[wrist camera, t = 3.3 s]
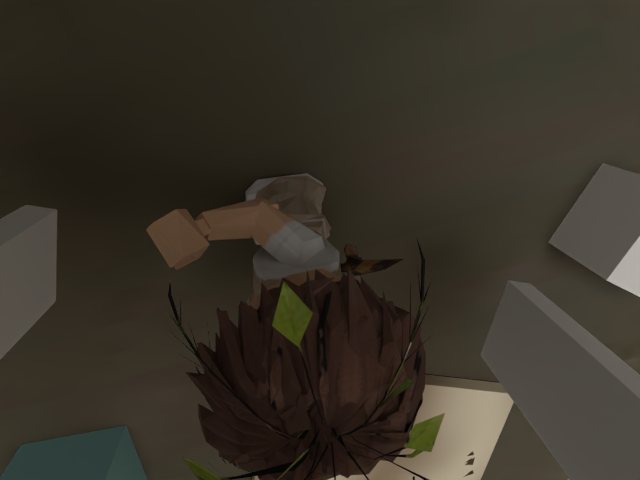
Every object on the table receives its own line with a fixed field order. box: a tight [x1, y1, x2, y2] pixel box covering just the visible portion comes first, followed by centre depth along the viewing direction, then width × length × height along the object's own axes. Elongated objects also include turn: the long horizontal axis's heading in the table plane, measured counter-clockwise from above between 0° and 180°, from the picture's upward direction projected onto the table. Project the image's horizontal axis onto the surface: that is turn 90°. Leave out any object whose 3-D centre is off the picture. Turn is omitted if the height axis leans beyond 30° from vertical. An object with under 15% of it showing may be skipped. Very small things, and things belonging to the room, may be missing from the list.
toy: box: [146, 173, 475, 480], centre depth 12 cm, size 6×6×15 cm
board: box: [252, 374, 514, 480], centre depth 24 cm, size 12×12×1 cm
